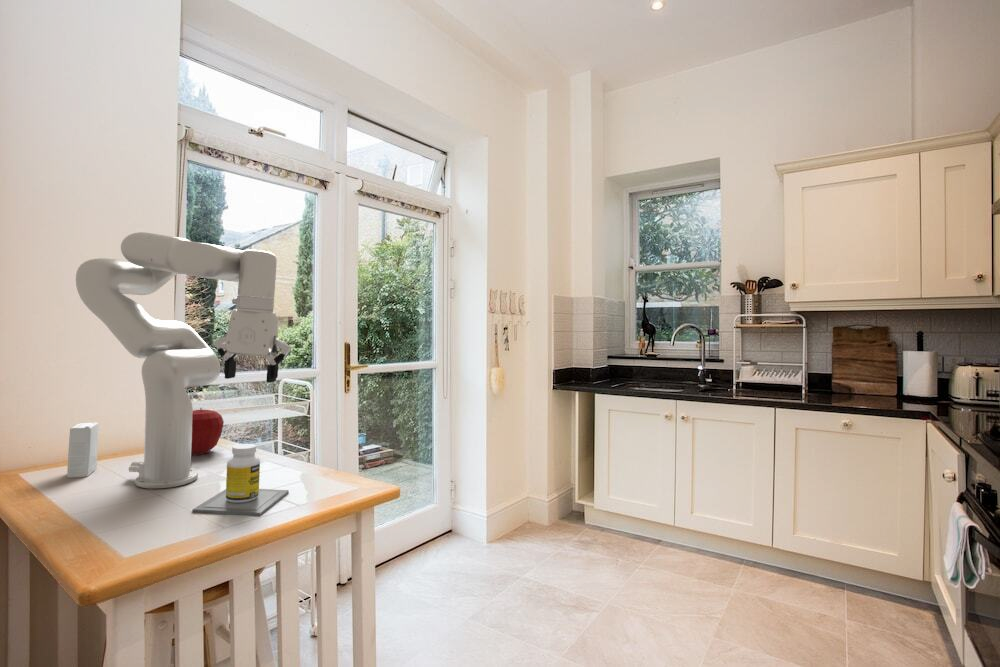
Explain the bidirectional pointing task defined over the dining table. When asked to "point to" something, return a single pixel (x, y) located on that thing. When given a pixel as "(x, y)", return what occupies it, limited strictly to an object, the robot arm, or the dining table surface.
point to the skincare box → (82, 450)
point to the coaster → (253, 507)
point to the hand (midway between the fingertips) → (250, 379)
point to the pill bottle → (243, 474)
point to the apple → (205, 430)
